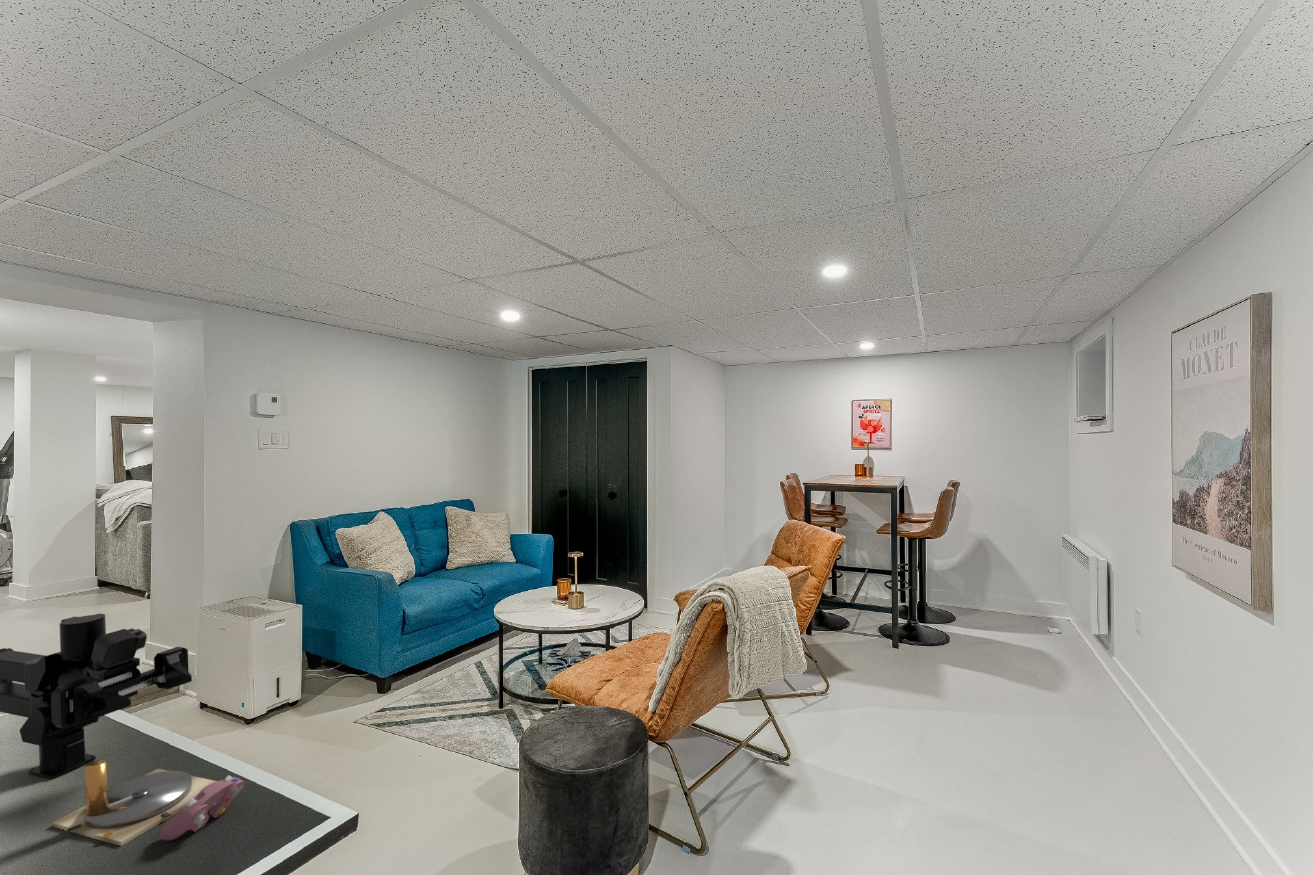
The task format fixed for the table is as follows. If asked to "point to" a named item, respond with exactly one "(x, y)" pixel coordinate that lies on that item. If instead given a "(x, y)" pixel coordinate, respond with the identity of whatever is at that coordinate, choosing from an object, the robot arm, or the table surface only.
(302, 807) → the table surface
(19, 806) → the table surface
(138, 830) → the panel
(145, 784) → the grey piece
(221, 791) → the video game controller
